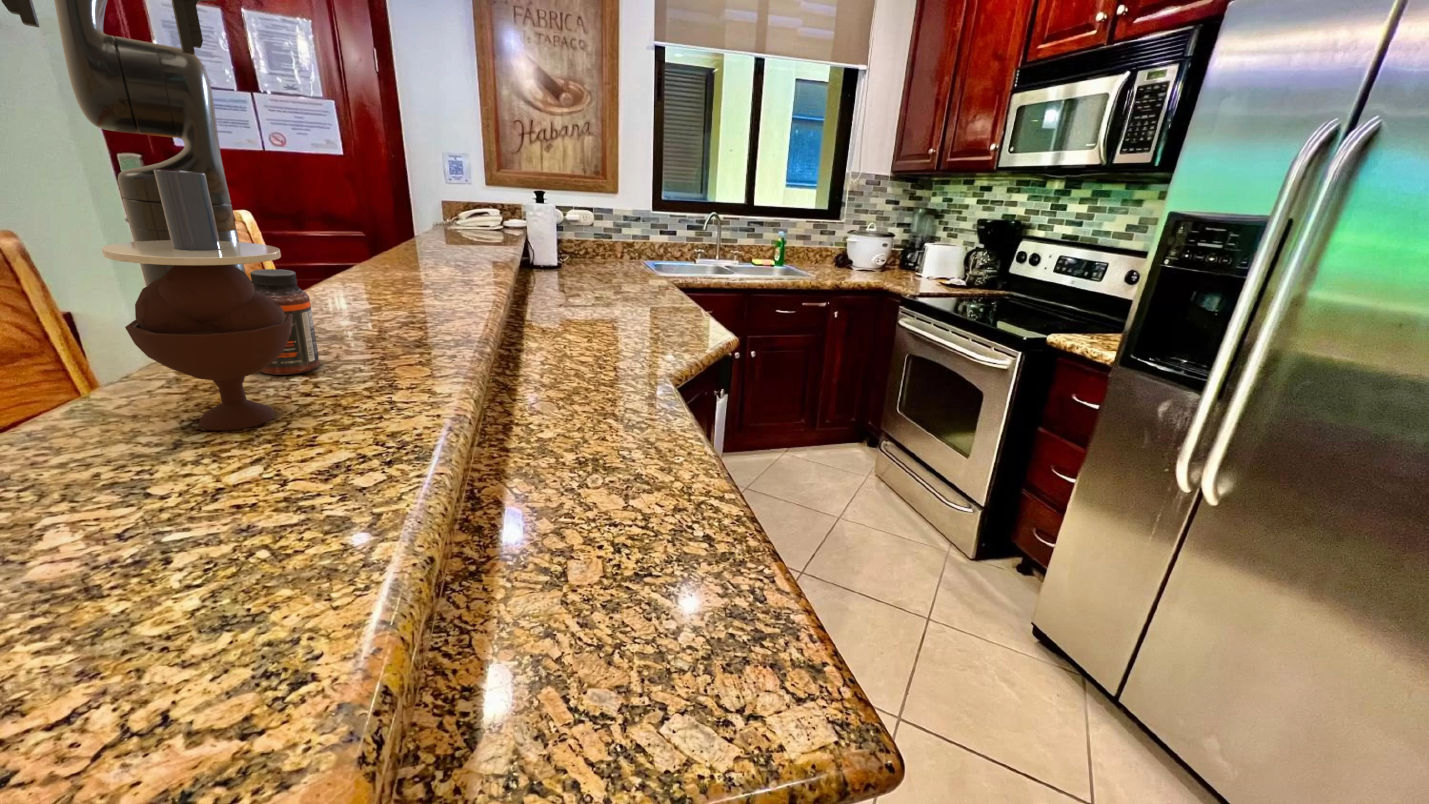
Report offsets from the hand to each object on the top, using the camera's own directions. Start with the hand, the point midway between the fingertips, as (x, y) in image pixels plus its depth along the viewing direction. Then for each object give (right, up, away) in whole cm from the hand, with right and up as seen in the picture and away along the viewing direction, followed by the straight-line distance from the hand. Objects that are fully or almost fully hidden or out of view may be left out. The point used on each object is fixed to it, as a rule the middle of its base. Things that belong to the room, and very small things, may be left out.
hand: (114, 40), depth 43 cm
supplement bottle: (-3, -25, +22) cm, 33 cm away
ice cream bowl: (+2, -30, +9) cm, 32 cm away
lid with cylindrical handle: (+4, -16, +3) cm, 17 cm away
